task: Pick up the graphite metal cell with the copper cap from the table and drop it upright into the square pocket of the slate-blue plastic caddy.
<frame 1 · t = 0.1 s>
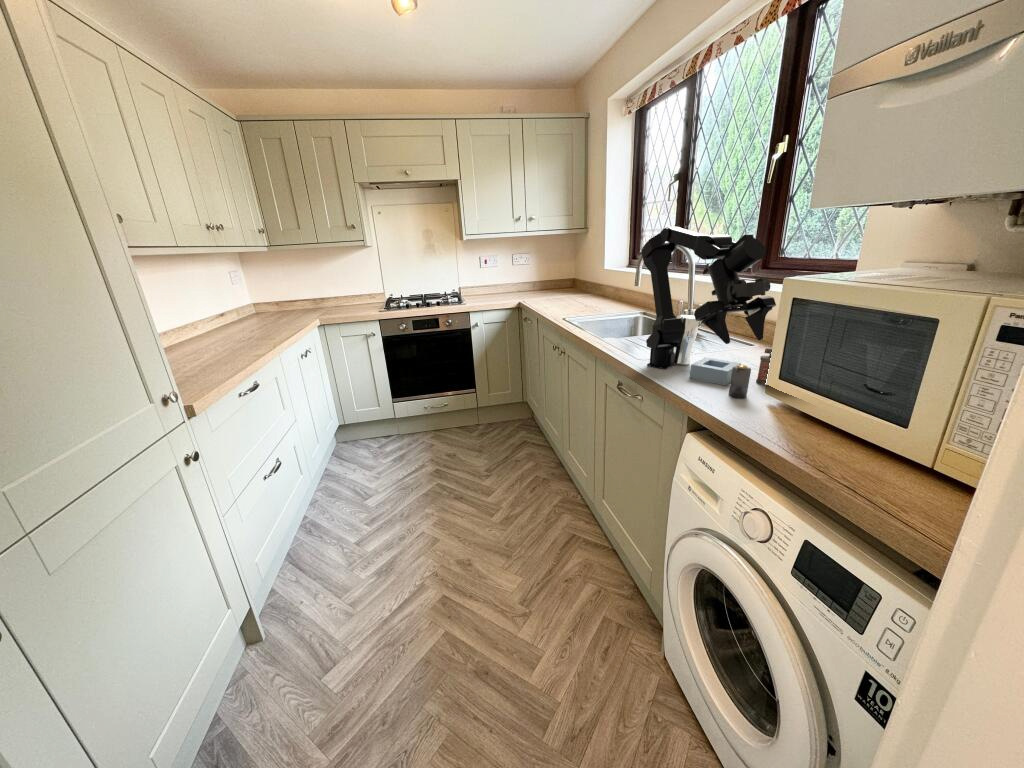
hand: (744, 341, 94), 15 cm above the counter, tool tilted 35°, fingers open, 9 cm apart
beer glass: (679, 362, 129), on the counter, touching arm
red decorated tea tin: (772, 385, 108), on the counter
caddy: (714, 377, 115), on the counter
cell: (737, 395, 101), on the counter
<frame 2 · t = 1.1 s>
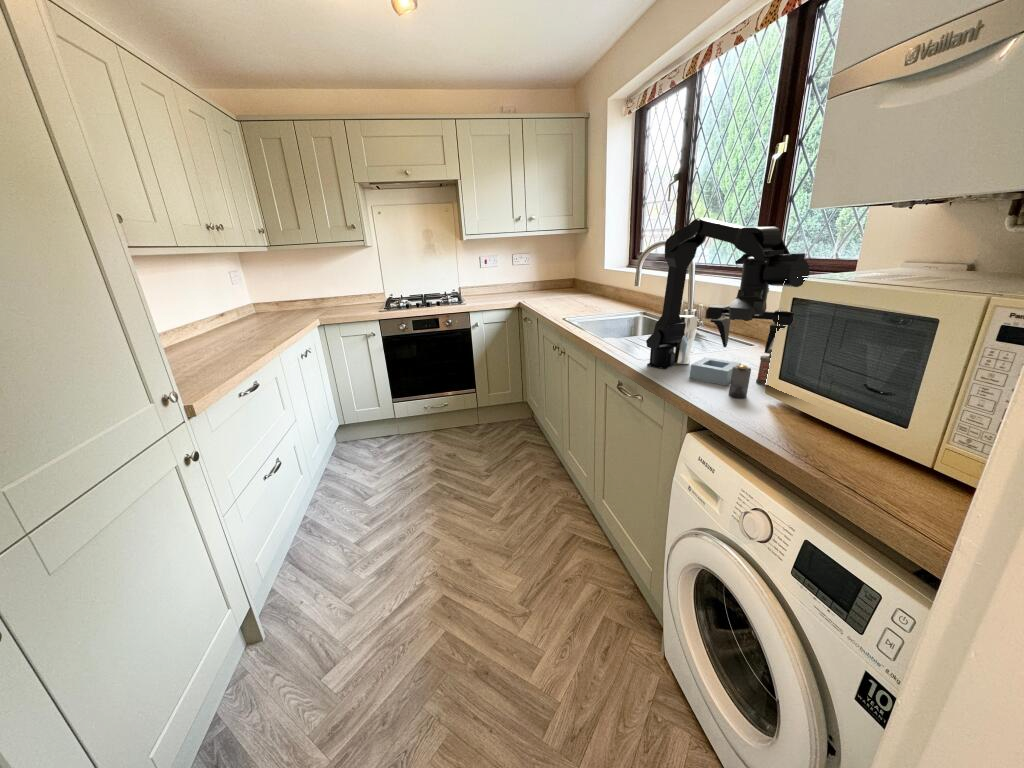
hand: (745, 349, 97), 12 cm above the counter, tool pointing down, fingers open, 9 cm apart
nothing on the counter moved.
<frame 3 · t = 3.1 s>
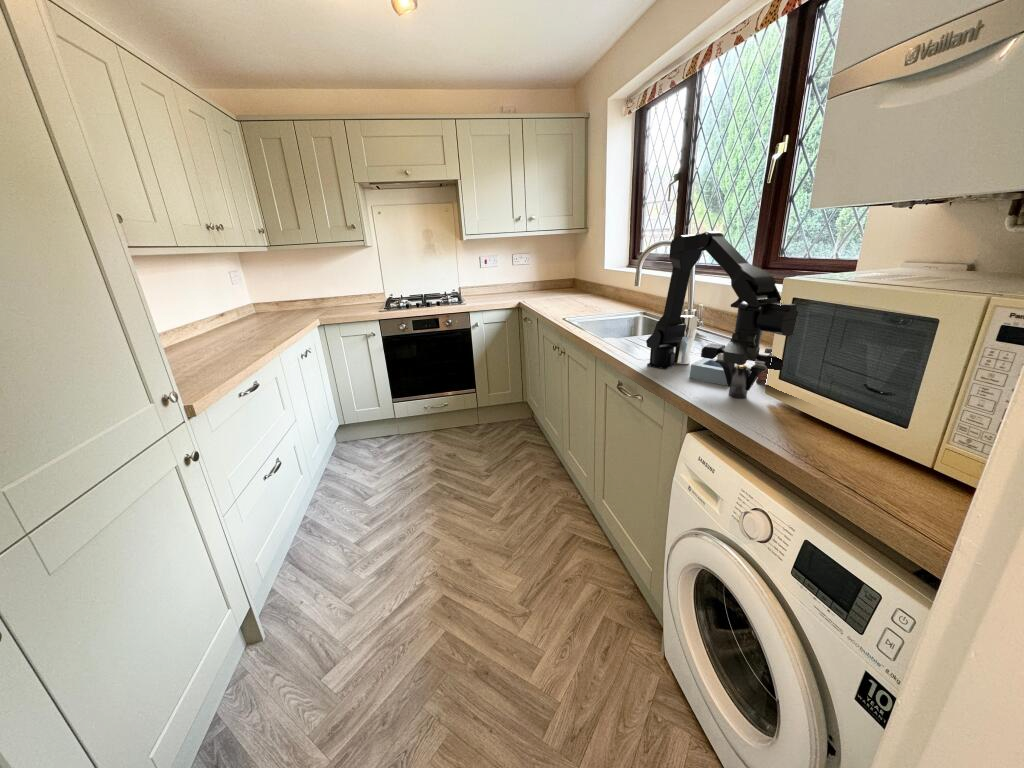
hand: (738, 388, 100), 2 cm above the counter, tool pointing down, fingers closed on cell, 4 cm apart
cell: (737, 395, 101), on the counter, touching gripper
everything else where it was.
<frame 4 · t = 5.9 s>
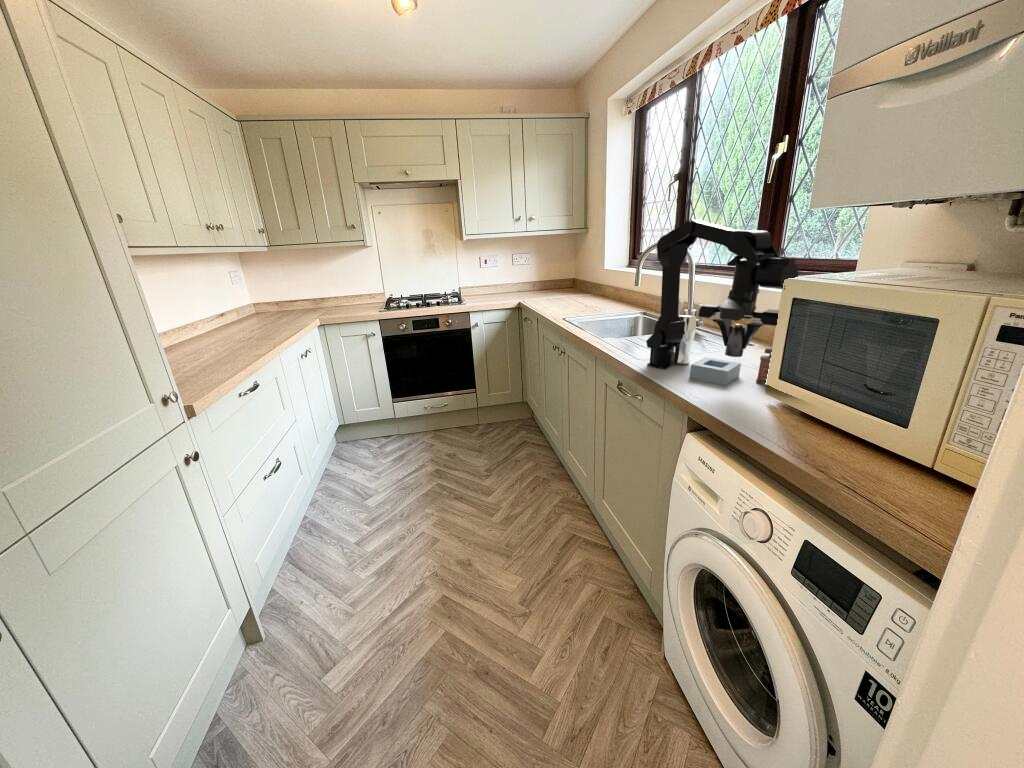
hand: (734, 347, 102), 12 cm above the counter, tool pointing down, fingers closed on cell, 4 cm apart
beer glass: (679, 362, 129), on the counter
cell: (733, 354, 102), point 10 cm above the counter, touching gripper
everything else where it was.
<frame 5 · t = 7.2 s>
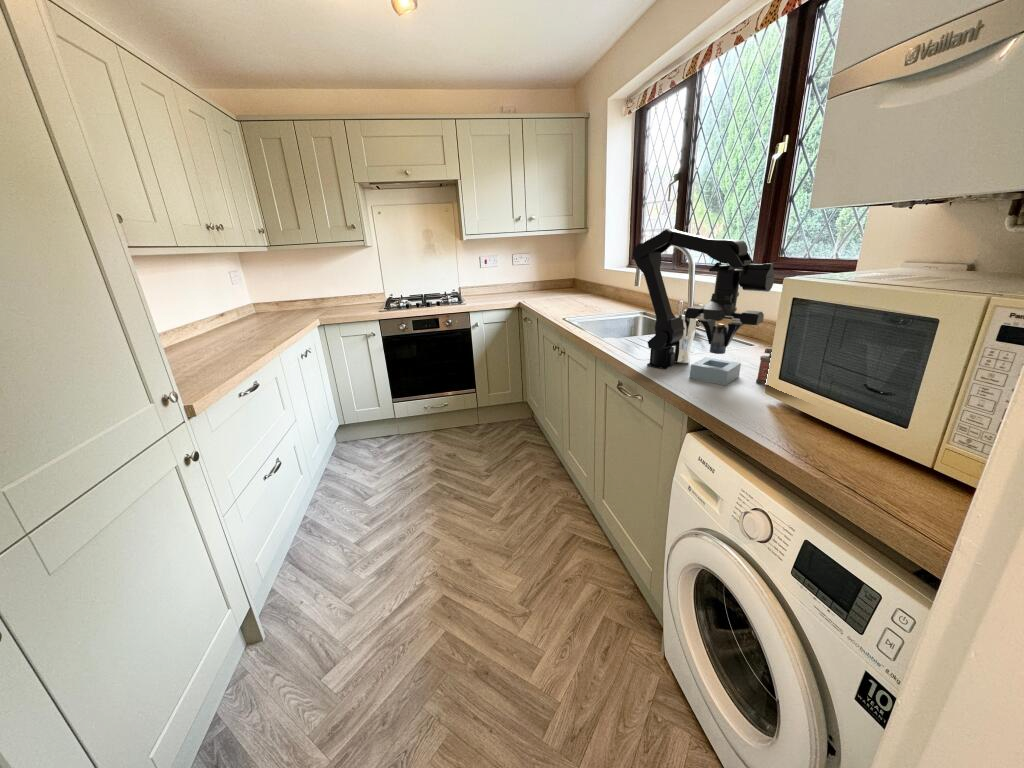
hand: (718, 345, 112), 10 cm above the counter, tool pointing down, fingers closed on cell, 4 cm apart
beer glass: (679, 362, 129), on the counter, touching arm
cell: (717, 352, 112), point 8 cm above the counter, touching gripper
everything else where it was.
when the fingers open (5 cm above the counter, at t = 8.6 s): cell drops 2 cm, resting on caddy.
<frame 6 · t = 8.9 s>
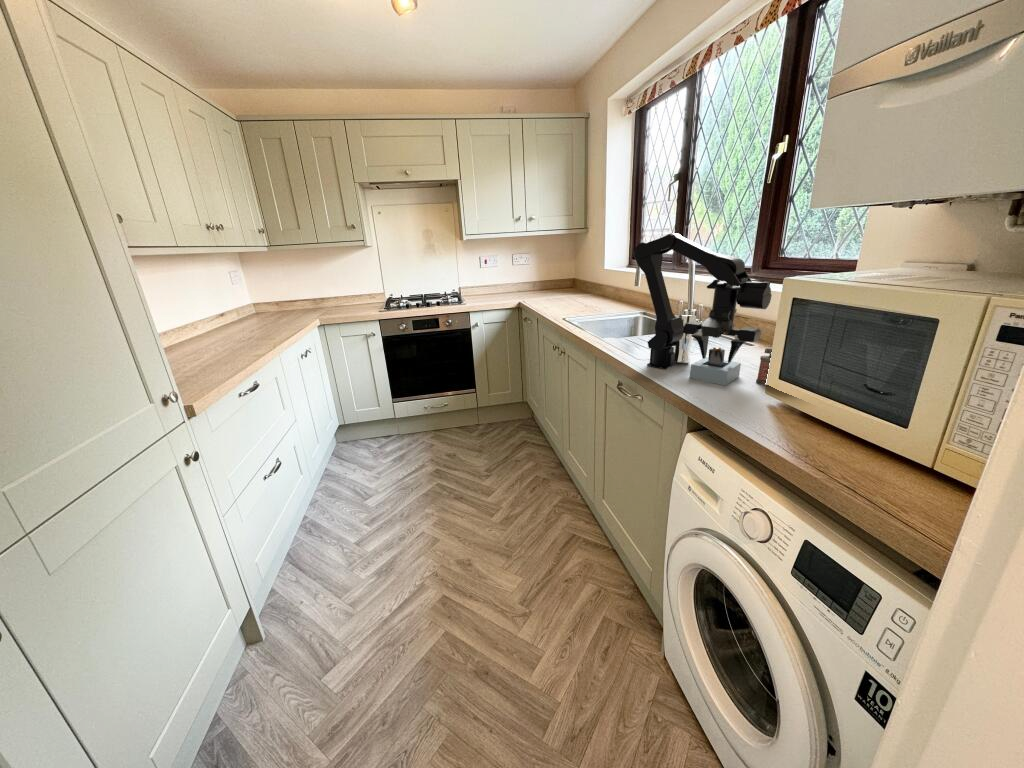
hand: (716, 360, 113), 5 cm above the counter, tool pointing down, fingers open, 7 cm apart
cell: (714, 374, 115), point 1 cm above the counter, touching caddy
everything else where it was.
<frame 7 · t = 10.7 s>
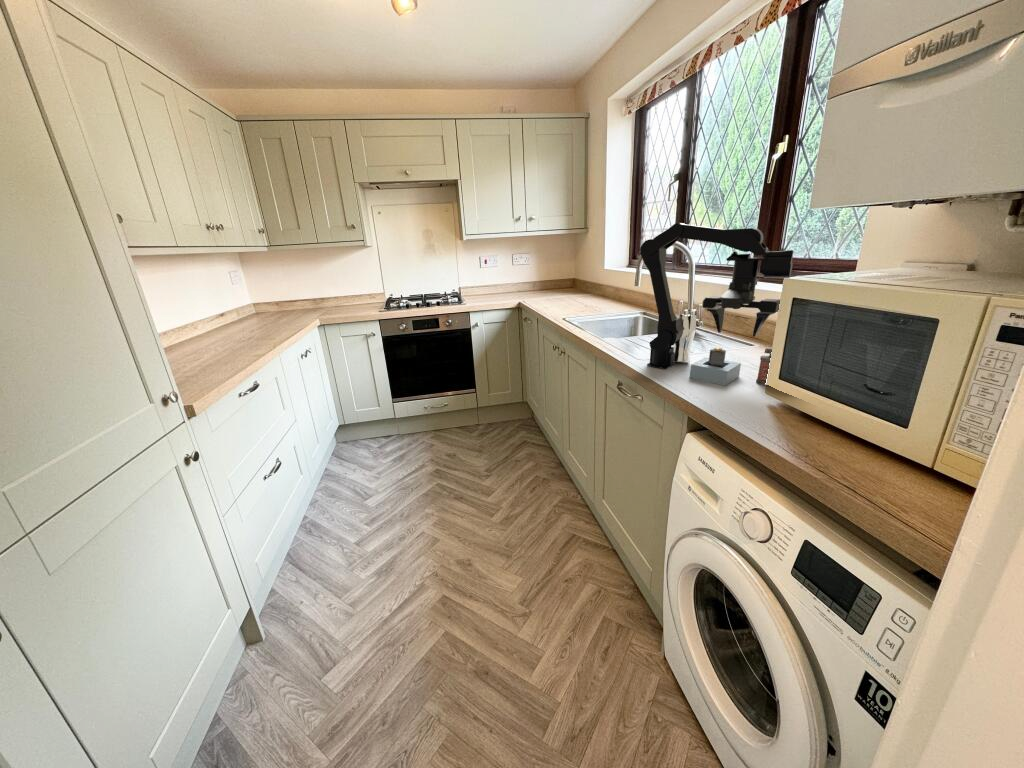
hand: (736, 334, 112), 12 cm above the counter, tool pointing down, fingers open, 9 cm apart
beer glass: (679, 361, 129), on the counter
everything else where it was.
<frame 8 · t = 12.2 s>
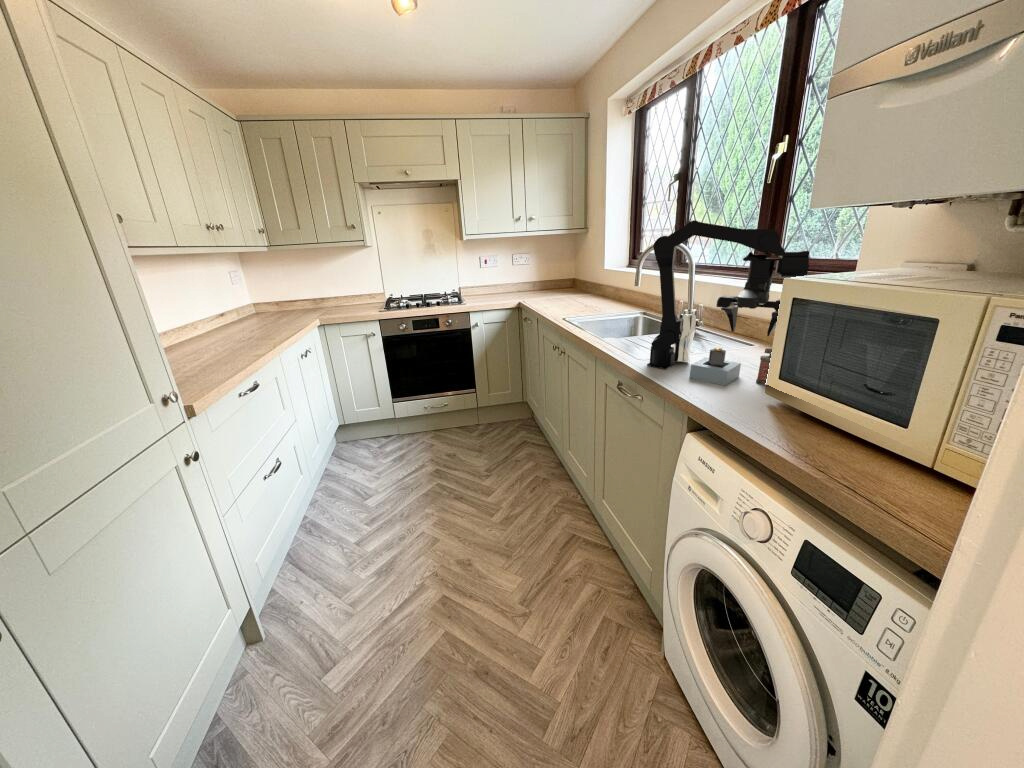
hand: (750, 333, 113), 12 cm above the counter, tool pointing down, fingers open, 9 cm apart
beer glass: (679, 361, 129), on the counter, touching arm
everything else where it was.
at the end: cell 0.0 cm off-centre on the caddy, point 0.6 cm above the caddy's base; cell tilted 0°; the gripper is holding nothing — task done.
